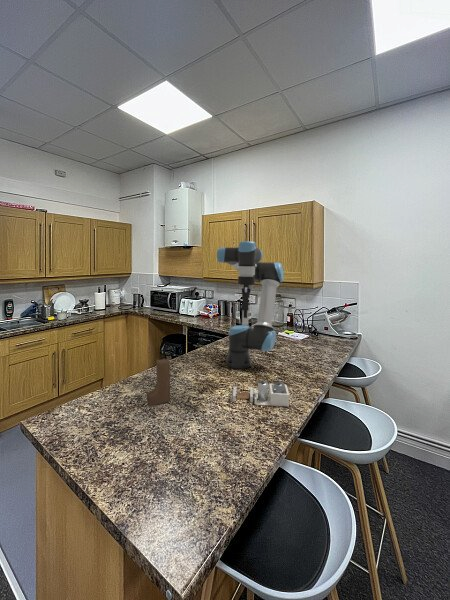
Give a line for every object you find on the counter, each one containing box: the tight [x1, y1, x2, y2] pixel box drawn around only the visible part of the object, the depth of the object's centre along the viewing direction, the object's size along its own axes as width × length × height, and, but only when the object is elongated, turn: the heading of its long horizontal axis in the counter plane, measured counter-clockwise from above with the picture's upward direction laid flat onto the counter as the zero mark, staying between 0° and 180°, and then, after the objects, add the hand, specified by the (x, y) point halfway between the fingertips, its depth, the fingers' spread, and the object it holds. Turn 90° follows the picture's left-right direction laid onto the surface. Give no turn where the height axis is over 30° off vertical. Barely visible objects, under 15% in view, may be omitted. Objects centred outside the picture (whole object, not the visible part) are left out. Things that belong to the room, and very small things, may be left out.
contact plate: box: [236, 391, 250, 400], centre depth 123 cm, size 3×5×2 cm, turn 85°
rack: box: [253, 383, 290, 407], centre depth 121 cm, size 10×14×6 cm
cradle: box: [232, 386, 254, 403], centre depth 123 cm, size 9×9×4 cm
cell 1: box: [257, 380, 269, 402], centre depth 121 cm, size 4×4×8 cm
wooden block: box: [146, 358, 171, 407], centre depth 120 cm, size 9×4×18 cm, turn 121°
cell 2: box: [273, 380, 285, 394], centre depth 120 cm, size 4×4×8 cm
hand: (245, 321), depth 131 cm, fingers open, 13 cm apart
